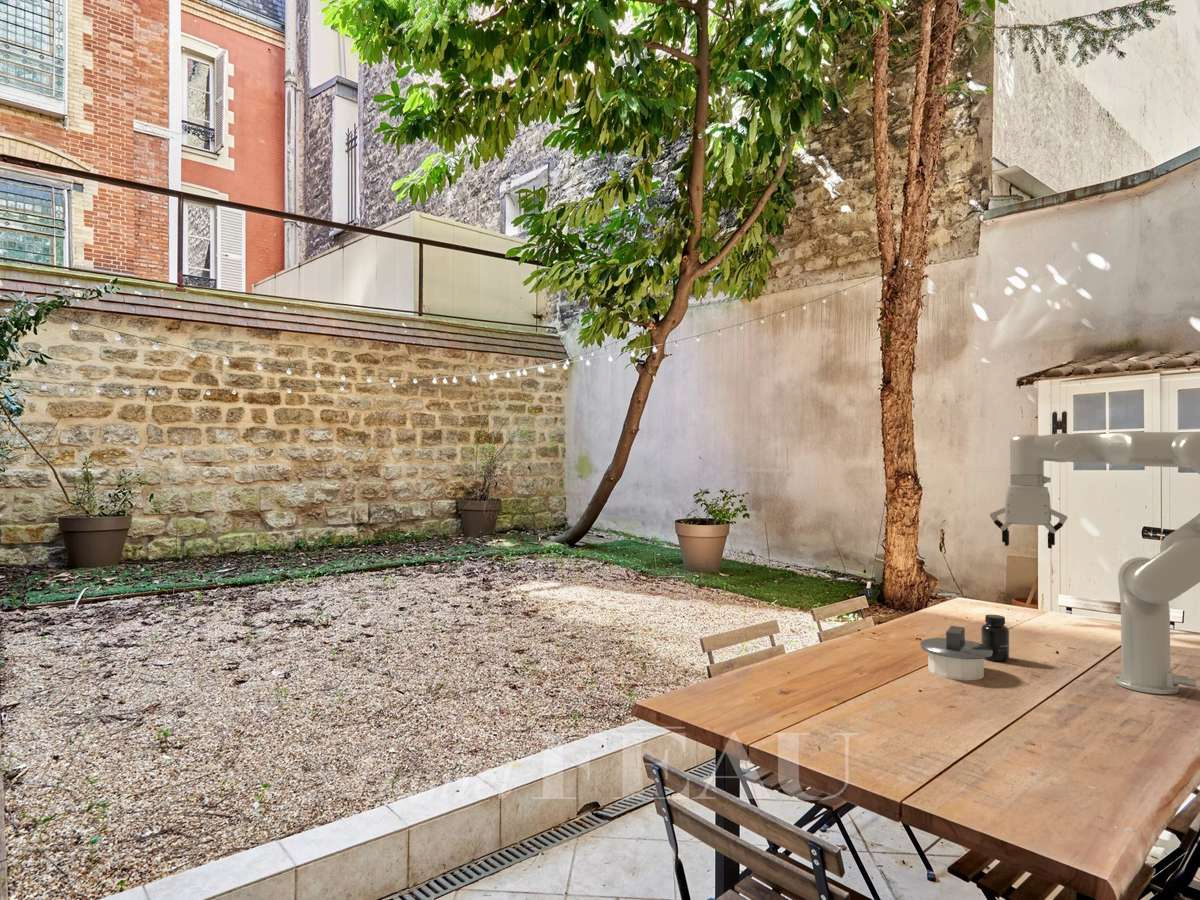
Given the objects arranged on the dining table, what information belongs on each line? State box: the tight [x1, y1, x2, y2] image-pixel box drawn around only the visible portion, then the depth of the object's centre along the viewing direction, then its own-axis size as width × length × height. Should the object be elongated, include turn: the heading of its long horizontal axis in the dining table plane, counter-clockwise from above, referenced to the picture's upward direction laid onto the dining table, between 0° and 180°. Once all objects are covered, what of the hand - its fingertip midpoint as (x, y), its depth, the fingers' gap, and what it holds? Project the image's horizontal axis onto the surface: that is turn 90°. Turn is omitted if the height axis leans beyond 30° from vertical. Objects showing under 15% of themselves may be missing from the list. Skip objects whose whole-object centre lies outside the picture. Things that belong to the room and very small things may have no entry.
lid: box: [920, 625, 993, 659], centre depth 183 cm, size 17×17×5 cm
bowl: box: [927, 652, 985, 681], centre depth 182 cm, size 13×13×6 cm
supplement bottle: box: [980, 614, 1010, 663], centre depth 193 cm, size 7×7×12 cm
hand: (1028, 546), depth 181 cm, fingers open, 9 cm apart
